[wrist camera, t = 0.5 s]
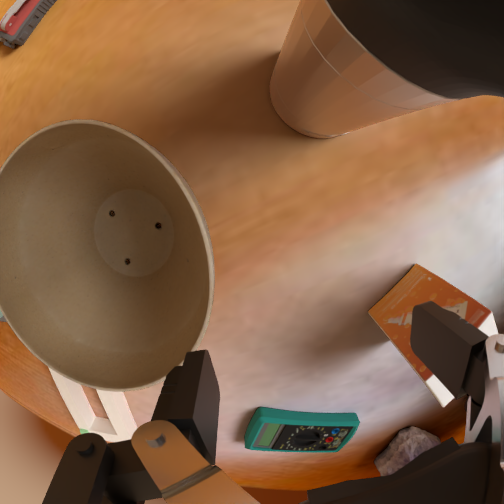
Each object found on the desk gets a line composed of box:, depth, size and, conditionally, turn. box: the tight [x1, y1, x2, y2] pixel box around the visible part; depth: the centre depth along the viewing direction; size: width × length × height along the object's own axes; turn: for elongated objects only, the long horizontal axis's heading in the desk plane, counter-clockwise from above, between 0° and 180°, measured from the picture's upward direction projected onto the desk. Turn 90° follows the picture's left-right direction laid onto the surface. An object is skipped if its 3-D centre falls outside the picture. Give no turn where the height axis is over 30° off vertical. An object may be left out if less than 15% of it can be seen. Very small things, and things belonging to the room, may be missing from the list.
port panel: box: [48, 367, 137, 442], centre depth 29 cm, size 16×9×4 cm, turn 1°
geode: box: [374, 426, 441, 476], centre depth 35 cm, size 20×12×10 cm, turn 55°
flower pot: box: [0, 119, 215, 392], centre depth 20 cm, size 18×18×12 cm
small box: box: [368, 264, 498, 407], centre depth 23 cm, size 8×6×13 cm
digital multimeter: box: [244, 407, 360, 452], centre depth 33 cm, size 8×15×3 cm, turn 75°
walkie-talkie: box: [0, 0, 57, 49], centre depth 16 cm, size 9×4×20 cm
